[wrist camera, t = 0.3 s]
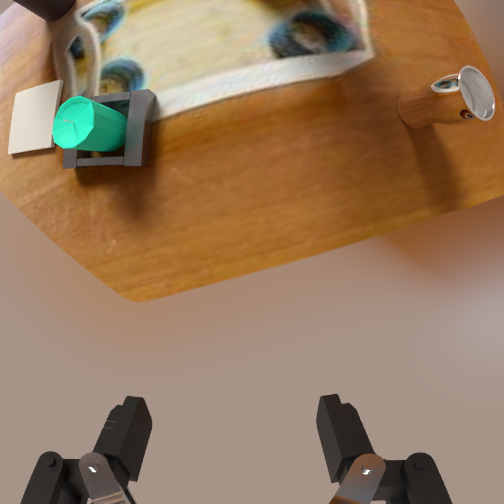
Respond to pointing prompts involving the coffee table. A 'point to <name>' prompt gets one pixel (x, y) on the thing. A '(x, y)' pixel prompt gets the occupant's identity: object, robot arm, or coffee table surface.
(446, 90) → the beer glass
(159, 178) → the coffee table surface
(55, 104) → the coaster
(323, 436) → the robot arm
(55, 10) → the wine bottle
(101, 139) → the candle
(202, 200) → the coffee table surface
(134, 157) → the holder collar
